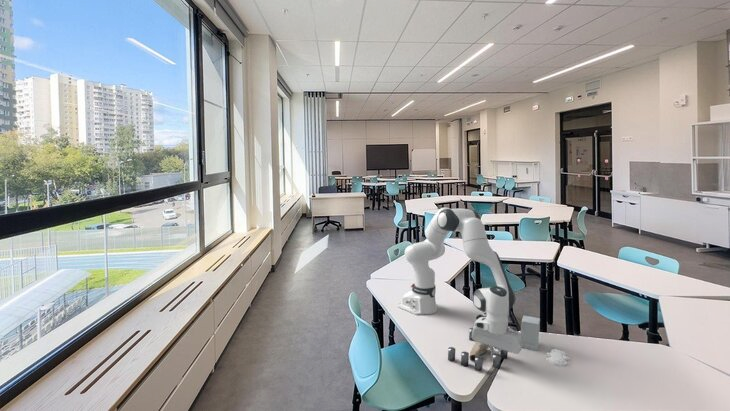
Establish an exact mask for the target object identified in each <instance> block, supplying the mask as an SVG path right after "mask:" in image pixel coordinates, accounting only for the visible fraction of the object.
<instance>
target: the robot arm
mask: <svg viewBox="0 0 730 411" xmlns="http://www.w3.org/2000/svg"><path fill="white" fill-rule="evenodd" d="M450 232H459V233H460V234H461V239H462V245H463V249H464V253H465V255H466V256H467V257H468V258H469V259H471V260H472V261H475V262H478V263H481V264H483V265H486V266H487V267H488V268H490V270H491V273H492V275H493V277H494V281H495V284H496V285H493V286H490V287H484V288H483V287H482V288H478V289H477V288H476V290H475V291H474V293H473V296H472V304H473V306H474V307H475V308H476V309H478V310H479V311H481V312H482V313H486V314H487V315H486V314H485V316H486V317H480V318H479V319H475V322H474V326H473V327H472V328H473V331H472V339H473V340H474V342H476V343H477V342H480V343H483V344H486V345H489V348H488V349H489V351H490V352H491V356H492V357H493V354H494V353H497V354H500V352H501V350H505V351H508V353H513V354H515V355H519V354H520V353H521V352H522V348H521V341H522V335H521V332H519V331H517V330H513V329H511V328H509V318H508V314H509V310H510V309H512V308H513V307H514V305H515V303H516V300H517V298H516V294H515V292H514V290H513V288H512V286H511V283H510V281H509V279H508V276H507V274H506V271H505V269H504V266H503V264H502V261H501V258H500V256H499V255H498V252H497V251H494V250H493V248H492V247H491V246H490V243H489V240H488V237H487V236H488V235H487V232H486V229H485V226H484V224H483V222H482V220H481V216H480V214H479V212H478V211H477V210H474V209H471V208H461V207H460V208H459V207H458V208H449V207H446V206H445V207H441V208H440V209H438V210H437V212H436V213H435V214H434V216H432V218H431V219H430V222H429V223H428V225H427V227H426V229H425V231H424V235H425V238H426V239H425V240H423V241H420V242H414V243H411V244H410V245H408V246H407V247H405V249H404V257H405V260H406V261H407V262H408V263H409V264H410V265H411V267H412V268H413V272H414V283H412V284H411V285H410V288H412V289H410V290H409V291H407V292H405V294H403V296H402V298H401V301H399V302H398V304H397V307H398V308H399V309H401V310H404V311H406V312H409V313H411V314H413V315H415V316H419V315H431V314H434V313H436V312H438V307H437V302H436V289H437V288H436V283H435V282H436V272H435V270H433V268H431V267H430V264H429V261H434V260H437V259H439V258H441V257H442V256H443V255H444V254H446V252H445V251H446V248H445V244H444V242H445V240H446V239H447V236H448V235H449V233H450ZM495 347H496V348H498V349H497V350H495V349H496V348H495Z"/></svg>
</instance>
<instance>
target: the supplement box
mask: <svg viewBox="0 0 730 411" xmlns="http://www.w3.org/2000/svg"><path fill="white" fill-rule="evenodd" d="M540 323H541V318H540V317H534V316H530V315H529V316H528V315H523V316H522V319H521V325H520V334H521V335H522V341H521V349H525V350H526V349H527V350H531V351H538V346H539V338H540V325H541V324H540Z"/></svg>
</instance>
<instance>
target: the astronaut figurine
mask: <svg viewBox="0 0 730 411" xmlns="http://www.w3.org/2000/svg"><path fill="white" fill-rule="evenodd" d="M566 355H567V354H566V352H565V351H564V350H563V351H562V350H559V349H556V348H552V349H551V350H550V352H548V351H547V353H546V356H548V357H546V359H545V360H546V361H547V362H548V363H550V364H551V365H552V366H556V367H567V366H568V362H567V361H570V360H571V358H570V357H569V356H566Z"/></svg>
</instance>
